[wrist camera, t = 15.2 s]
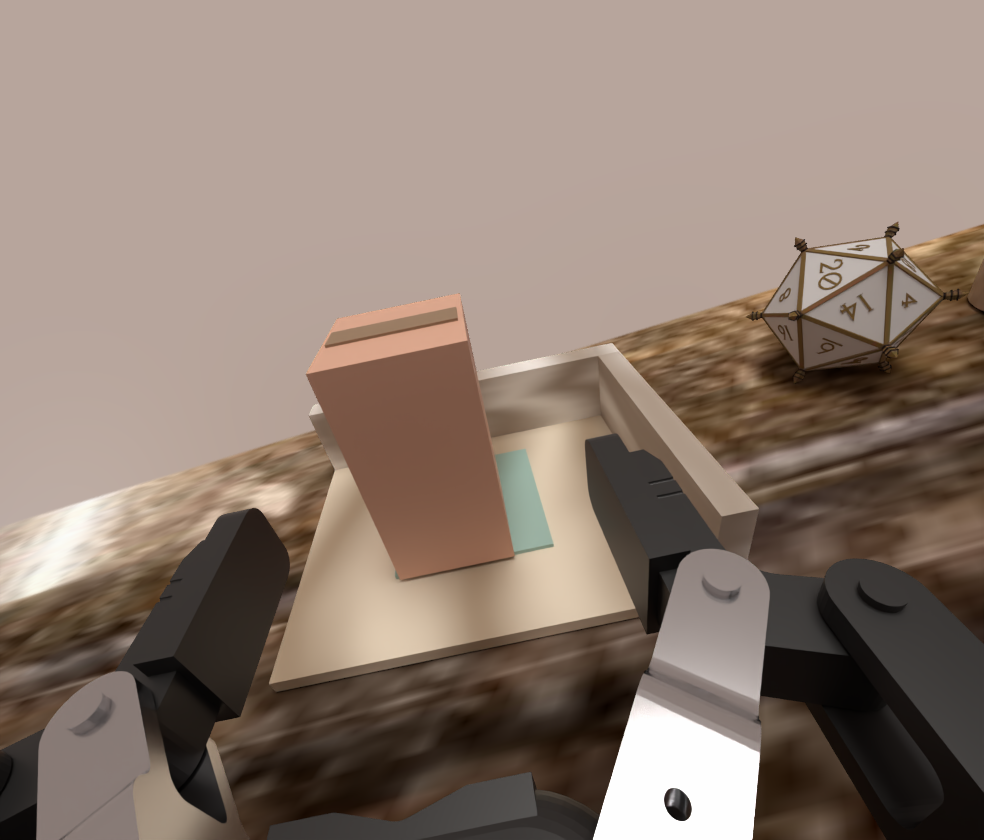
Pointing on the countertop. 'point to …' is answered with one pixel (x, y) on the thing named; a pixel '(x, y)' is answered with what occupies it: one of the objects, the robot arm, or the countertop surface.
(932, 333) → the countertop surface
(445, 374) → the terracotta block
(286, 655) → the beige flat tray shape
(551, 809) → the robot arm
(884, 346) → the game die
